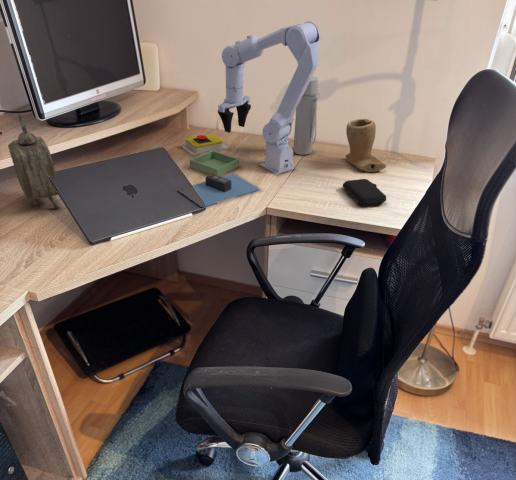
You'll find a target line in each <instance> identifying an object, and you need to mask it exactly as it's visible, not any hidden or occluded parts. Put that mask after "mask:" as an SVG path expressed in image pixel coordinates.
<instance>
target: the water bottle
mask: <svg viewBox="0 0 516 480" xmlns="http://www.w3.org/2000/svg"><path fill="white" fill-rule="evenodd" d="M320 97H321V94H320V92H319V77H317V76H315V75H313V76H312V78H311V80H310V82H309V84H308V86H307V88H306V90H305V92H304V94H303V96H302V98H301V100H300V102H299V104H298V106H297V108H296V110H295V118H294V136H293V148H292V149H293V153H295V154H296V155H299V156H308V155H310V154H312V152H313V146H314V143H315V142H316V140H317V115H318V112H317V109H318V107H317V106H318V99H319V98H320Z"/></svg>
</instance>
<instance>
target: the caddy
mask: <svg viewBox="0 0 516 480" xmlns="http://www.w3.org/2000/svg"><path fill="white" fill-rule="evenodd" d="M189 166H190V167H189V168H191V169H194V170H195V171H198V172H201V173H204V174H206V175H211V174H214V175H217V176H220V177H222V176H223V175H225V174H227V173H230V172H232V171H233V170H235V169H237V168H240V158H239V157H234V156H232V155H228V154H226V153H223V152H220V151H218V150H217V151H214V150H212V151H209V152H207V153H201V154H199V155H198V156H195V157H193V158H190V159H189Z"/></svg>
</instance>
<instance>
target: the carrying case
mask: <svg viewBox="0 0 516 480" xmlns="http://www.w3.org/2000/svg"><path fill="white" fill-rule="evenodd" d="M342 188H343V190H344V191H345V192H346V193H347V194H348V195H349V196H350V197H351V198H352V199H353V200H354V201H355V202H356V203H357V204H358V205H360V206H361V207H366V206H375V205H382V204H384V203H385V202H386V201H387V195H386V194H385V193H383V192H382V191H381V190H380V188H378V187H377V184H376V183H373V182H372V181H370V180H369V179H367V178H359V179H351V180H350V179H349V180H345V182H343V183H342Z"/></svg>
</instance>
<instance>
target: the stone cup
mask: <svg viewBox="0 0 516 480" xmlns="http://www.w3.org/2000/svg"><path fill="white" fill-rule="evenodd" d="M345 128H346V133H345V134H346V138H347V142H348V146H349V153H347V154H345V156H344V157H345V159H346V161H347V162H349V164H351V165H353V166H355V168H357V169H359V170H361V171H364V172H367V173H375V172H378V171H381V170H384V169H386V168H387V165H386V163H384V162H382V161H381V159H378V158H377V157H376V156H374V155H372V150H373V146H374V143H375V142H374V141H375V139H376V133H377V131H376V128H377V126H376V122H375V121H374V120H370V119H369V118H357V119H353V120H351V121H349V122H348V123H347V125H346V127H345Z"/></svg>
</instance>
